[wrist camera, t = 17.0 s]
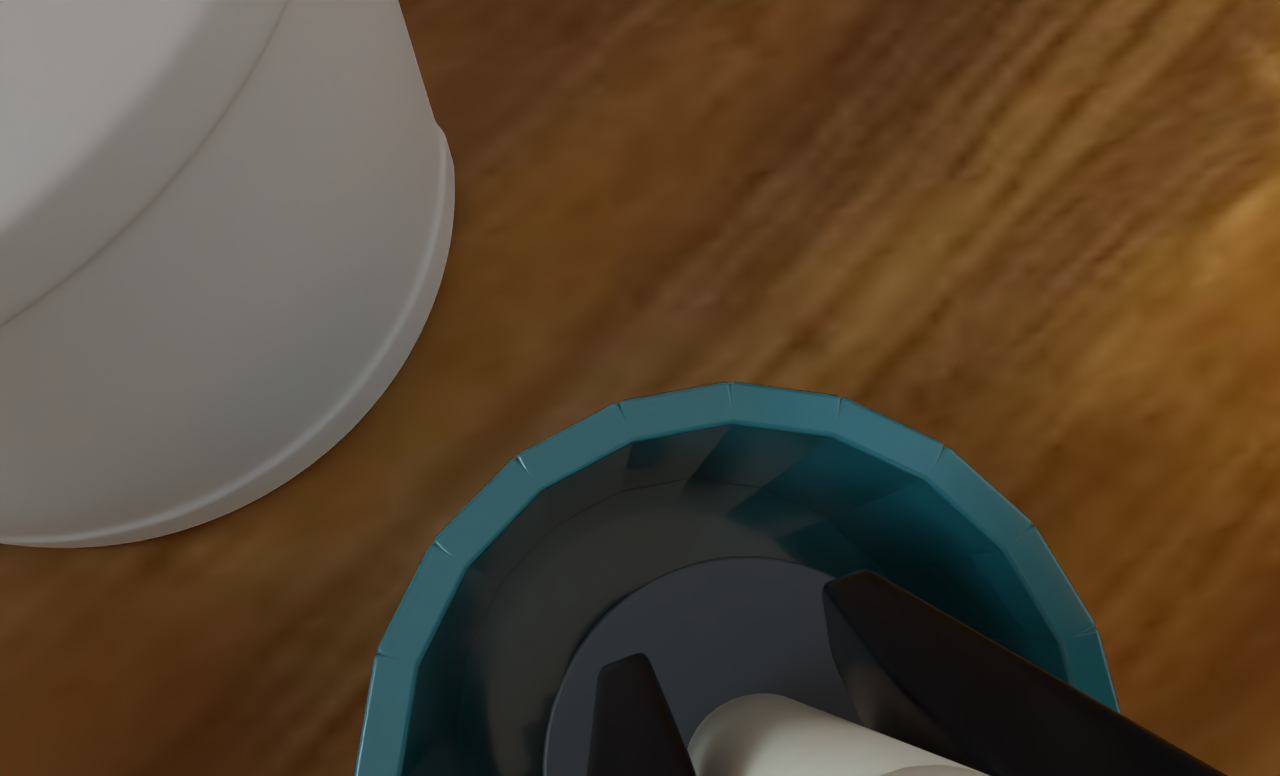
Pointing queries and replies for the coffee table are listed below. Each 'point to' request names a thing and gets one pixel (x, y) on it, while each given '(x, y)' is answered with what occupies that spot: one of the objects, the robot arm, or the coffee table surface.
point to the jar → (202, 251)
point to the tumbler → (692, 557)
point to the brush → (735, 677)
